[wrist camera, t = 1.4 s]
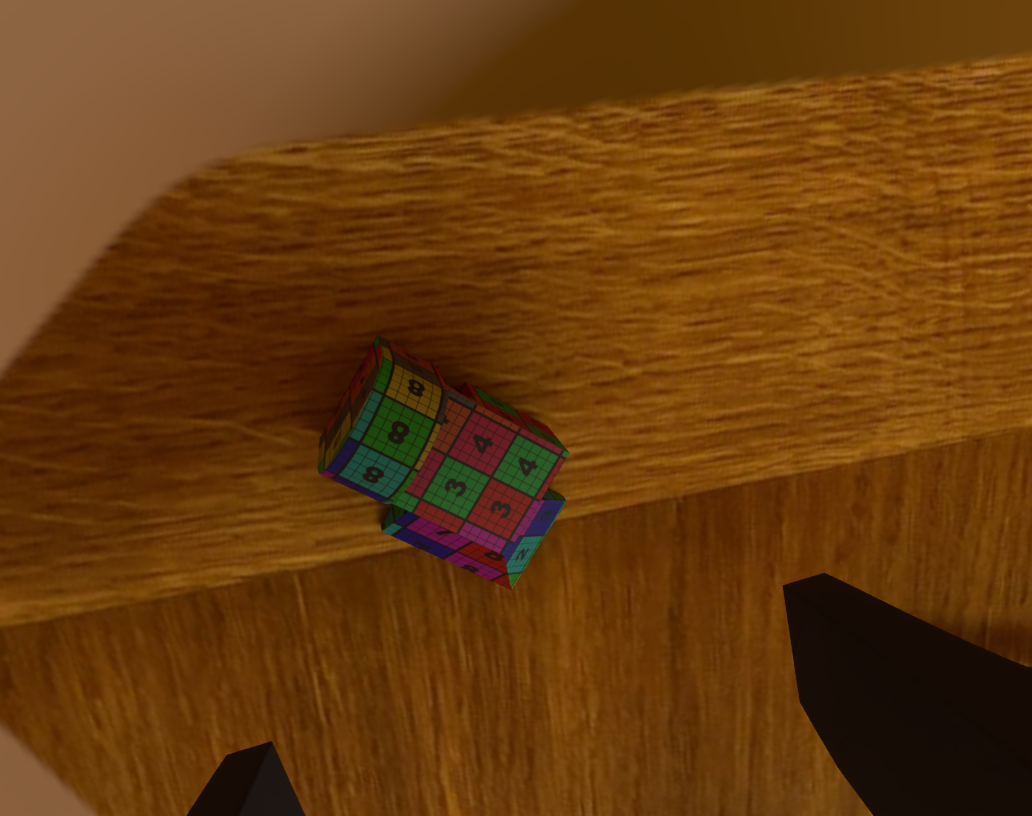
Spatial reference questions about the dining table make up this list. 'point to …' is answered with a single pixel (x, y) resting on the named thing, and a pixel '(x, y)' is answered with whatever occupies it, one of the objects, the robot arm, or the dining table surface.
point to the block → (445, 464)
